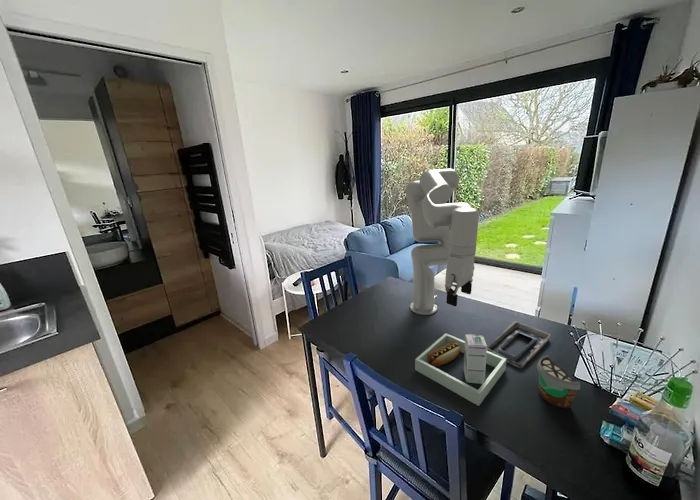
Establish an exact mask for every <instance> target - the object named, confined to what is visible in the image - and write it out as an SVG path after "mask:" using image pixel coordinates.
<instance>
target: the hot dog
mask: <svg viewBox="0 0 700 500" xmlns="http://www.w3.org/2000/svg"><path fill="white" fill-rule="evenodd" d="M460 353H461V352H460V347H459V344H458V343H448V344H446V345H444V346H443V347H441V348H439V349H437V350H435V351H433V352H431V353H430V354H429V361H428V362H429V364H430V365H432V366H434V367H440V366H444V365H445V364H448V363H450V362H451V361H453V360H455V359H456V358H457V357H458V356H459V354H460Z"/></svg>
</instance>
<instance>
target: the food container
mask: <svg viewBox="0 0 700 500" xmlns="http://www.w3.org/2000/svg"><path fill="white" fill-rule="evenodd" d="M536 369H537V371H538V373H539V374H538V393H539V396H540V397H541V398H542V399H543V400H544V401H546V402H547V403H548V404H550V405H552V406H555V407H556V408H557V407H558V408H561V409H571V408H572V406H573V403H574V400H575V399H576V394H577V393H578V392H577V391H580V390H581V384H580V383H581V381H575V380H574V379H573V378H571V376H569V374H568V373H567V372H566V371H565V370H564V369H563V368H562V367H561V366H559V365H557V364H556V363H555V362H553V361H552V360H551V359H550V355H549V354H547V355H544V356H542V357H541V358H540V359H539V360H538V363H537V364H536Z"/></svg>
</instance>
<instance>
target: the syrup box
mask: <svg viewBox="0 0 700 500" xmlns="http://www.w3.org/2000/svg"><path fill="white" fill-rule="evenodd" d="M464 341H465V347H464V353H463V367H462V368H463V370H462V371H463V375H464V379H465V380H464V381H465V383H469V384H470V383H471V384H479V385H482V384H483V383H484V382H485V380H486V379H485V378H486V368H487V367H486V366H487V364H486V354H487V351H488V349H487V347H488V345H487V342H486V339H485V337H484V335H482V334H481V335H480V334H467V333H466V334H465V335H464Z"/></svg>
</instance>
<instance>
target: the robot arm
mask: <svg viewBox="0 0 700 500" xmlns="http://www.w3.org/2000/svg"><path fill="white" fill-rule="evenodd" d="M459 183H460V177H459V174H458V171H456V170H455V169H453V168H439V169H438V168H437V169H435V168H434V169H429V170H426V171H424V172H423V173H421V174H420V177H419V179H418V180H413V181H410V182H409V183H407V184H406V187H405V196H406V201H407V204H408V206H409V209H410V213H411V227H412V235H413V236H412V237H413V239H414V241H416V242H418V243H428V242H438V243H435V244H433V243H432V244H420V245H416V246H414V247H413V248H412V249H411V253H410V255H411V261H412V270H413V272H412V275H413V276H412V278H413V279H412V281H413V282H412V283H413V286H412V287H413V289H412V290H413V291H412V293H413V294H412V297H413V298H412V300H413V301H412V302H411V303H410V305H409V309H410V311H412V312H413V313H414V314H417V315H421V316H427V315H428V316H429V315H433V314H435V313H436V312H437V311H438V305H437V304H436V303H435V301H436V300H438V299H439V296H438V295H437V294H435V273H434V271H433V270H432V269H431V267H432V266H440V265H441V266H442V265H443V266H444V265H446V269H445V278H444V279H445V280H444V281H445V282H444V283H445V284H444V287H445V292H446V302H445V303H446V304H447V305H450V306H453V307H457V304H458V294H457V293H458V291H459V288H460V292H461V293H464V294H467V295H471V294H472V286H473V281H474V280H473V277H474V275H475V274H474V271H475V256H476V250H477V242H478V241H477V240H478V229H479V220H480V219H479V217H480V214H479V213H480V212H479V210H477V208H474V207H472V206H471V204H469V203H468V202H449V200H450V199H451V197H452V194H453V192H454V191H455V190H457V188H458V186H459ZM448 202H449V203H448ZM452 287H454V289H453V288H452Z"/></svg>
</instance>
